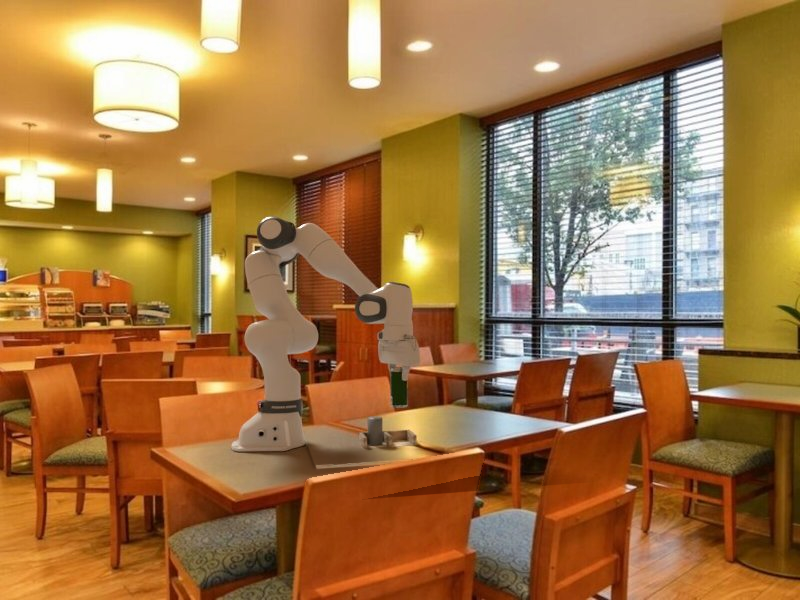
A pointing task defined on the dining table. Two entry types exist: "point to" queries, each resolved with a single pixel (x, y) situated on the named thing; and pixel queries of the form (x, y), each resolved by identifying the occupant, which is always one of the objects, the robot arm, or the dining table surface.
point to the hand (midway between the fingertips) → (398, 379)
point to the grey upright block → (374, 431)
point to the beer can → (398, 388)
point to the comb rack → (391, 439)
